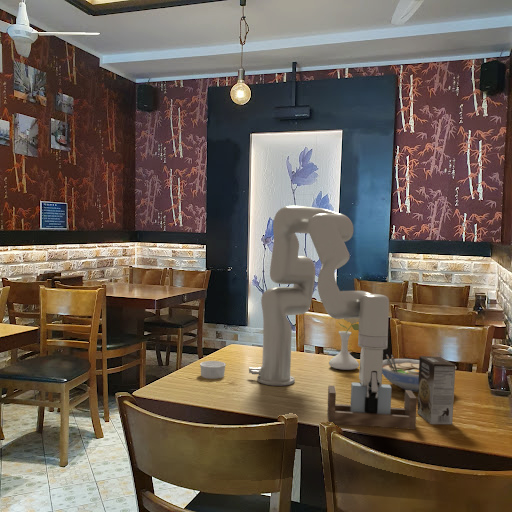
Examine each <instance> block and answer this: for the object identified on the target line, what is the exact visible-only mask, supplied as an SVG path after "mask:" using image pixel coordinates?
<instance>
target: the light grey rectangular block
mask: <svg viewBox="0 0 512 512" xmlns="http://www.w3.org/2000/svg"><path fill="white" fill-rule="evenodd" d="M369 385H371V384H369ZM350 387H351V390H350V405H351V408H350V412H360V413H365V397H366V390H367V386H366V385H365V387H363V386H362V384H361V382H351V385H350ZM370 389H371V388H369V390H370ZM391 408H392V386H391V384H384V383H383V384H381V387H378V409H377V413H375V414H390V412H391Z"/></svg>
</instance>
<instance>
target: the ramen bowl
mask: <svg viewBox="0 0 512 512" xmlns="http://www.w3.org/2000/svg"><path fill="white" fill-rule="evenodd" d="M390 355H391V356H390V357H391V358H390V357H389V355H388V354H385V357H386V359H383V369H382V376H384V377H385V379H386V380H387V381H389V382H390V383H391V384H393V385H395V386H397V387H399V388H401V390H404V391H405V390H411V391H412V392H413V393H418V384H419V359H412V358H394V355H393V354H390Z"/></svg>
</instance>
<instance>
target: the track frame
mask: <svg viewBox="0 0 512 512" xmlns="http://www.w3.org/2000/svg"><path fill="white" fill-rule="evenodd" d="M335 387H336V386H335V385H330V384H329V385H328V390H327V392H328V393H327V421H329V422H333V423H335V424H334V425H346V426H361V427H374V426H382V427H381V428H389V427H397V428H396V429H403V428H409V429H408V430H416V426H417V425H416V424H417V423H416V422H417V405H418V397H416V395H415V394H414V391H411V390H404V402H403V403H404V406H403V407H404V408H402V407H391V412H390V414H375V413H360V412H350V408H351V404H341V403H340V404H339V403H337V402H336V401H337V399H336V397H337V393H336V388H335Z"/></svg>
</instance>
